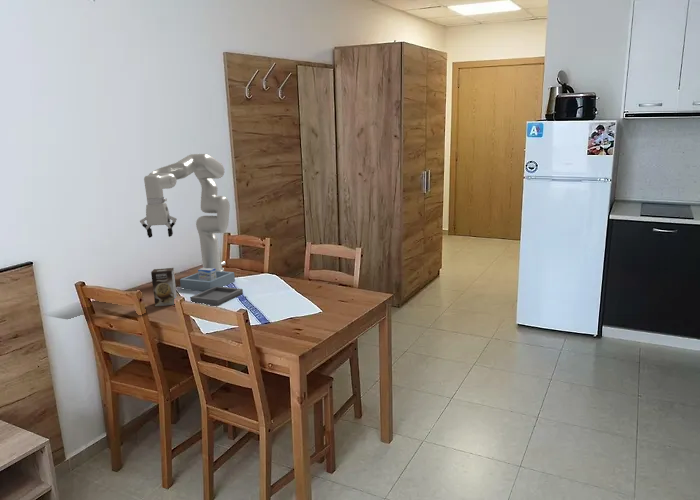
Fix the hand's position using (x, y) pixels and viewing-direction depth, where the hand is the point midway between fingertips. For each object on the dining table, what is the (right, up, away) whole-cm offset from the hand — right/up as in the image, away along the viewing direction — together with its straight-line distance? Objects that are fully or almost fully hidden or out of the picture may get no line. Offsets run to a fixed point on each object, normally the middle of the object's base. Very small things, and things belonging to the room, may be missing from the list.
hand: (160, 236), depth 258 cm
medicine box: (+19, -25, +16) cm, 35 cm away
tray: (+29, -29, -7) cm, 41 cm away
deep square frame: (+19, -24, +16) cm, 35 cm away
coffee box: (+7, -31, -11) cm, 34 cm away
